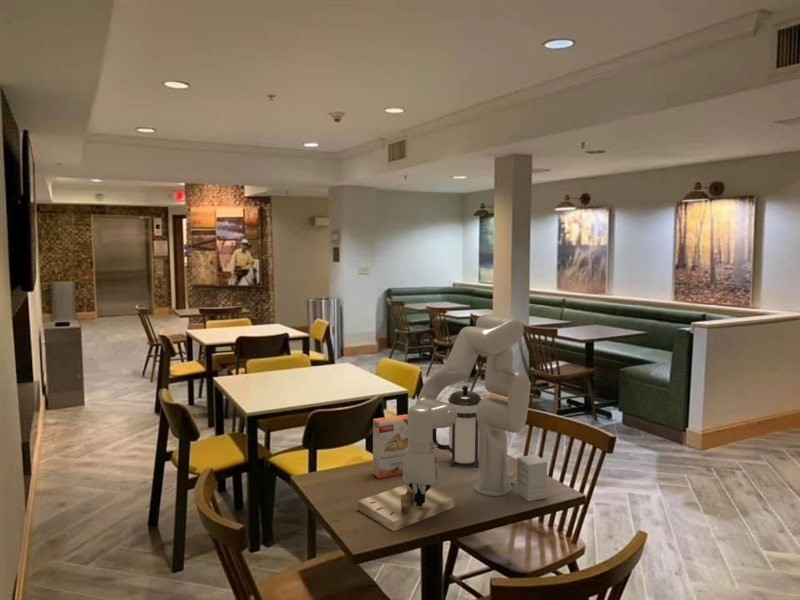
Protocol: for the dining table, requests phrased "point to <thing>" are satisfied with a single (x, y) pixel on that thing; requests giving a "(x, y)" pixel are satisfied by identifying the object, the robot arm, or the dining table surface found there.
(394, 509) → the dial board
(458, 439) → the coffee press
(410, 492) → the lever
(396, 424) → the cracker box
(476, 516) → the dining table surface
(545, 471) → the supplement box
